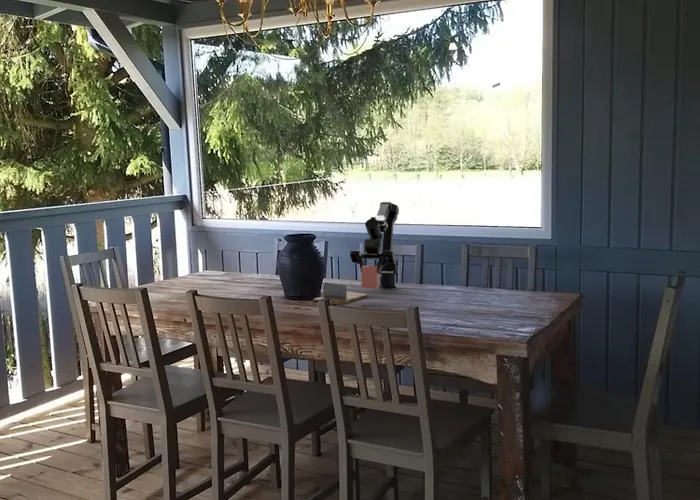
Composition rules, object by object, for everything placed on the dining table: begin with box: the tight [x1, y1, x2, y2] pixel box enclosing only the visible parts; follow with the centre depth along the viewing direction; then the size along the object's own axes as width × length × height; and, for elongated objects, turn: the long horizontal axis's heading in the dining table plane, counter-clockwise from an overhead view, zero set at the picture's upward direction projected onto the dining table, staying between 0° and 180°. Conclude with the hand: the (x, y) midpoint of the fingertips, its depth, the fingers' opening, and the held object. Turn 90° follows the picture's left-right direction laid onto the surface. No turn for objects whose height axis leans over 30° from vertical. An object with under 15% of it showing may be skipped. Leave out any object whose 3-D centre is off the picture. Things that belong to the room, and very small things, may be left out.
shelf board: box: [312, 291, 369, 306], centre depth 303 cm, size 20×14×1 cm
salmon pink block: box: [361, 265, 380, 290], centre depth 297 cm, size 4×6×9 cm, turn 75°
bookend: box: [322, 281, 347, 300], centre depth 300 cm, size 1×12×6 cm, turn 52°
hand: (369, 272), depth 295 cm, fingers closed on salmon pink block, 6 cm apart
